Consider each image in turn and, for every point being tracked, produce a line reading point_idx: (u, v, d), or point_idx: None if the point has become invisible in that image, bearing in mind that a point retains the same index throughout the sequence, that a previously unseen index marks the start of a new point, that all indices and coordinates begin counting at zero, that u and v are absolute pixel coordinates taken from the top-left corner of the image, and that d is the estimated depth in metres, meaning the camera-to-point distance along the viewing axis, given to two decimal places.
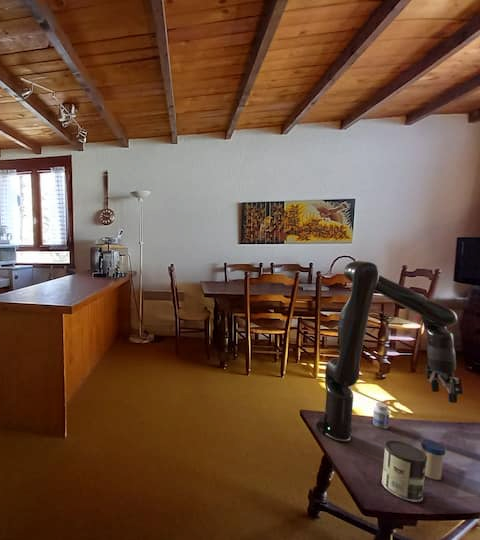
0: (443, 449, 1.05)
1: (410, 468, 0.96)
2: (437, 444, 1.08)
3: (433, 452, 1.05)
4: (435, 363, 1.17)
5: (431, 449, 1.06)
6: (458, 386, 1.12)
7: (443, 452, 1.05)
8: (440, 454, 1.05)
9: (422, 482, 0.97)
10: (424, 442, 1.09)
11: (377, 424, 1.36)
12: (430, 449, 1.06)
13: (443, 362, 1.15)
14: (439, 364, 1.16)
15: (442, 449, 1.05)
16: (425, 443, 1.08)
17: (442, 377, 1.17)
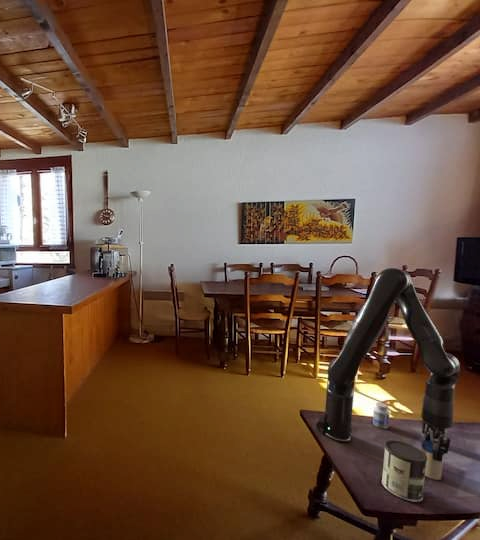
0: None
1: (410, 468, 0.96)
2: None
3: None
4: (427, 415, 1.06)
5: (431, 449, 1.06)
6: (444, 446, 1.01)
7: None
8: None
9: (422, 482, 0.97)
10: (424, 442, 1.09)
11: (377, 424, 1.36)
12: (430, 449, 1.06)
13: (435, 415, 1.04)
14: (431, 417, 1.05)
15: None
16: (425, 443, 1.08)
17: (432, 432, 1.05)
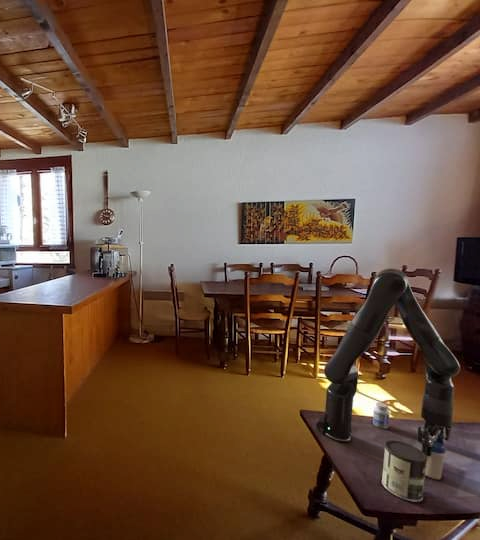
0: None
1: (410, 468, 0.96)
2: None
3: None
4: None
5: None
6: None
7: None
8: None
9: (422, 482, 0.97)
10: (440, 447, 1.05)
11: (377, 424, 1.36)
12: None
13: None
14: None
15: None
16: (441, 446, 1.06)
17: None
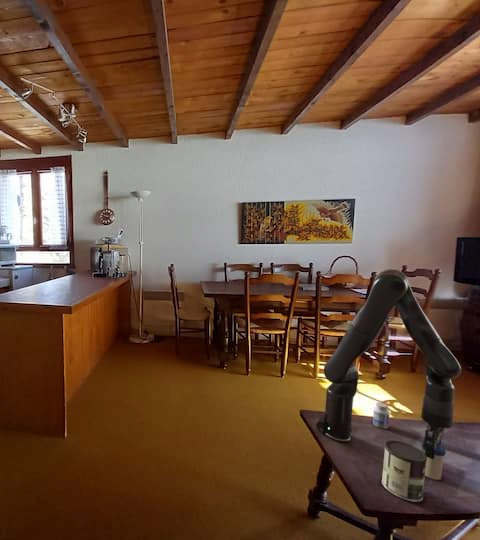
0: None
1: (410, 468, 0.96)
2: None
3: None
4: None
5: None
6: None
7: None
8: None
9: (422, 482, 0.97)
10: (442, 449, 1.05)
11: (377, 424, 1.36)
12: None
13: None
14: None
15: None
16: (442, 448, 1.05)
17: None
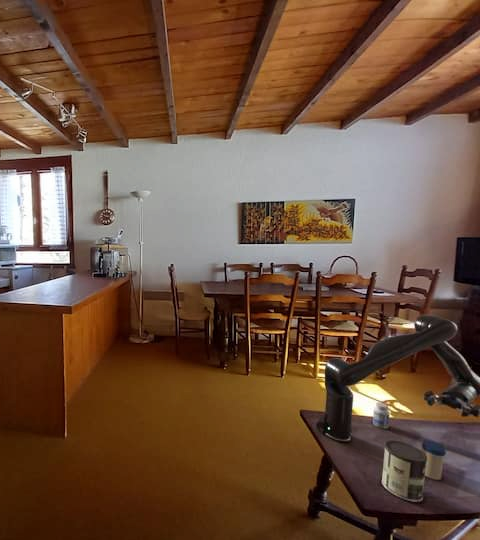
0: (426, 440, 1.10)
1: (410, 468, 0.96)
2: (426, 444, 1.08)
3: None
4: None
5: None
6: None
7: None
8: None
9: (422, 482, 0.97)
10: (442, 449, 1.05)
11: (377, 424, 1.36)
12: None
13: None
14: None
15: (428, 441, 1.10)
16: (442, 448, 1.05)
17: None
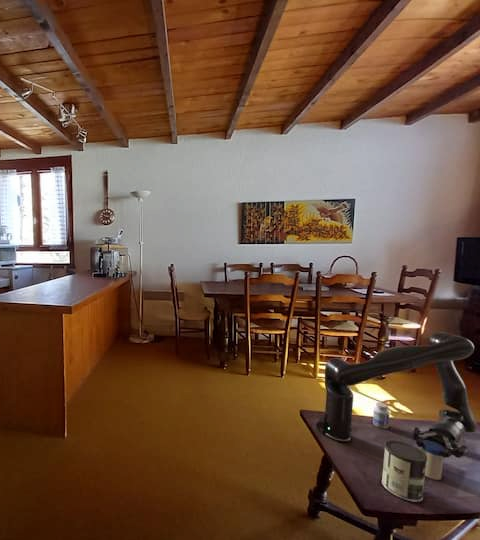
0: (426, 440, 1.10)
1: (410, 468, 0.96)
2: (426, 444, 1.08)
3: None
4: None
5: None
6: (413, 432, 1.15)
7: None
8: None
9: (422, 482, 0.97)
10: (442, 449, 1.05)
11: (377, 424, 1.36)
12: None
13: None
14: None
15: (428, 441, 1.10)
16: (442, 448, 1.06)
17: None
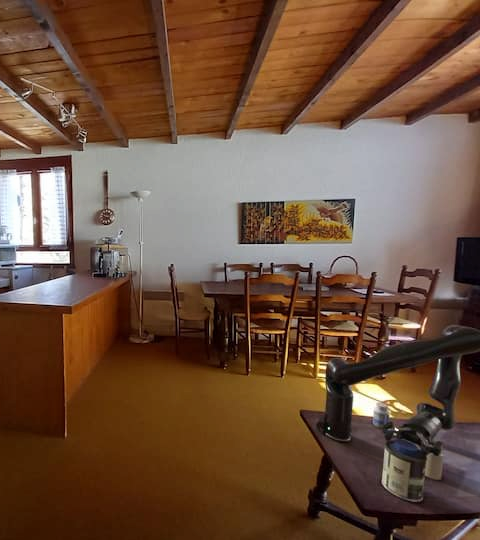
0: (399, 439, 1.03)
1: (410, 468, 0.96)
2: (398, 443, 1.01)
3: None
4: None
5: None
6: None
7: None
8: None
9: (422, 482, 0.97)
10: (414, 449, 0.98)
11: (377, 424, 1.36)
12: None
13: None
14: None
15: (400, 440, 1.02)
16: (414, 448, 0.98)
17: None
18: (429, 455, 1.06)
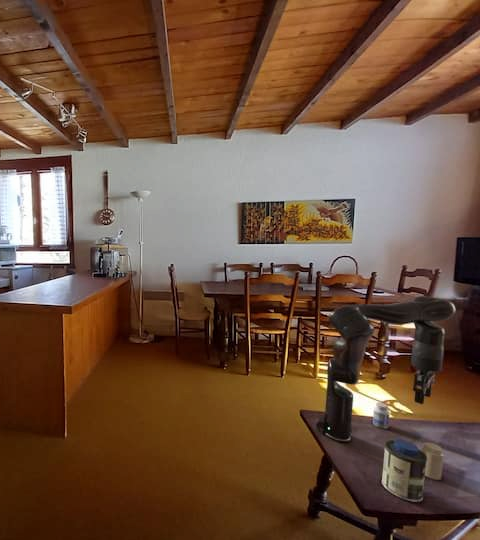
0: (399, 439, 1.03)
1: (410, 468, 0.96)
2: (398, 443, 1.01)
3: None
4: None
5: None
6: None
7: None
8: None
9: (422, 482, 0.97)
10: (414, 449, 0.98)
11: (377, 424, 1.36)
12: None
13: None
14: None
15: (400, 440, 1.02)
16: (414, 448, 0.98)
17: None
18: (429, 455, 1.06)
